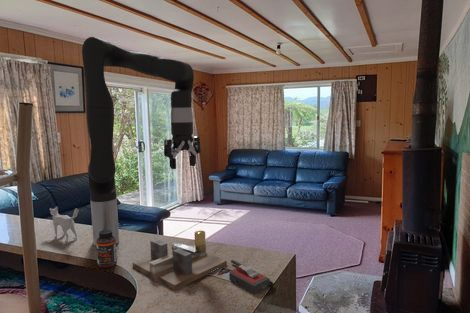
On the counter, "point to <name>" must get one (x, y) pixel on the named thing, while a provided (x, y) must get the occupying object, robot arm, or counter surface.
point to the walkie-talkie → (249, 278)
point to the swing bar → (199, 245)
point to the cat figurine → (63, 222)
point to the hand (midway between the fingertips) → (183, 167)
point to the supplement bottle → (106, 249)
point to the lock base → (178, 277)
